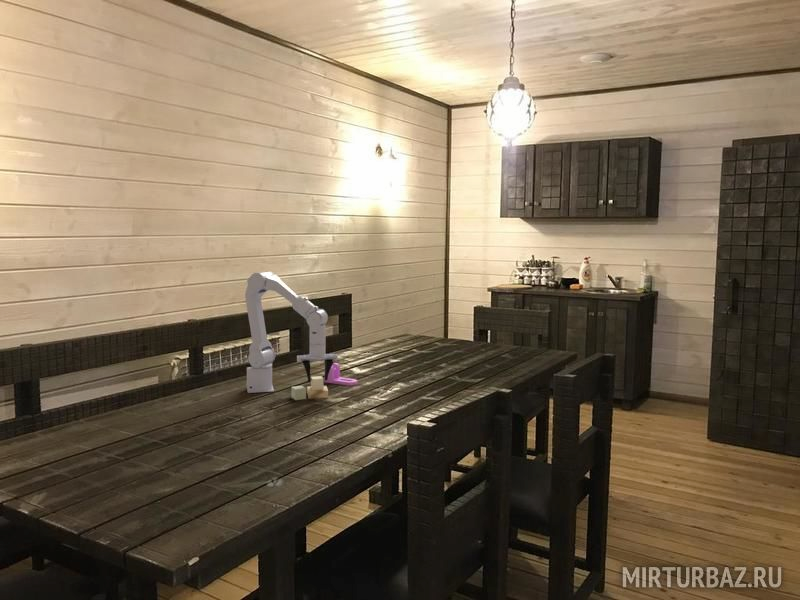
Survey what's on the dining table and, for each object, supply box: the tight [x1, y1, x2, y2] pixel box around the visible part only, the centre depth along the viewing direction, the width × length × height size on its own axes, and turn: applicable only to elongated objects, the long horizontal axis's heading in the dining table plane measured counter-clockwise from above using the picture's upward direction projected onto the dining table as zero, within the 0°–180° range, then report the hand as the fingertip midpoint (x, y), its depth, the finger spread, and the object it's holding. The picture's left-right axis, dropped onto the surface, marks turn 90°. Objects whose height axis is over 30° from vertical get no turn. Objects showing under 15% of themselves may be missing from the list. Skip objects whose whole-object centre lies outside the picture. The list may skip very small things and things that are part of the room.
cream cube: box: [310, 375, 324, 390], centre depth 230 cm, size 4×4×4 cm
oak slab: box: [306, 385, 329, 400], centre depth 231 cm, size 7×7×3 cm
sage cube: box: [290, 385, 307, 401], centre depth 227 cm, size 4×4×4 cm
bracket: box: [323, 362, 358, 386], centre depth 250 cm, size 13×6×7 cm, turn 62°
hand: (317, 380), depth 230 cm, fingers open, 5 cm apart
